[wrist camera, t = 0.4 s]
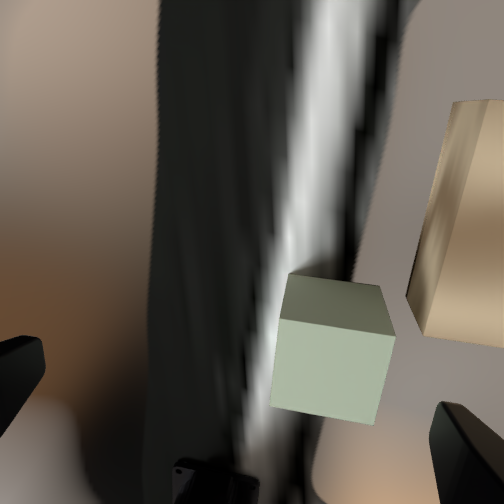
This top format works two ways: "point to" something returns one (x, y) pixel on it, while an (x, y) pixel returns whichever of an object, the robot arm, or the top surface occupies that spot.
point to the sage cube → (332, 349)
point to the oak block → (464, 232)
